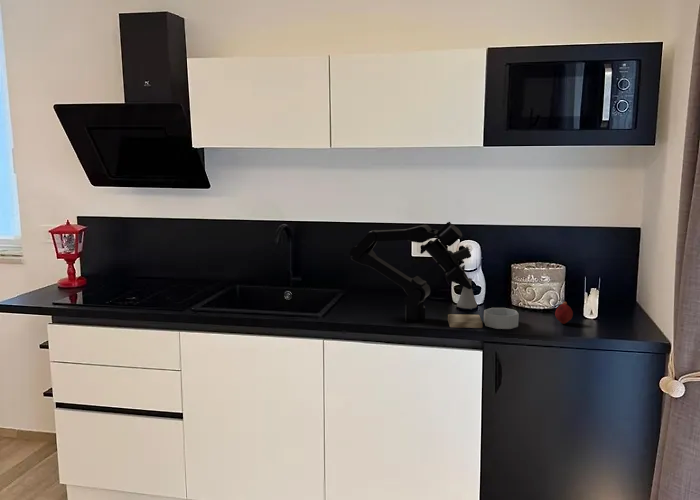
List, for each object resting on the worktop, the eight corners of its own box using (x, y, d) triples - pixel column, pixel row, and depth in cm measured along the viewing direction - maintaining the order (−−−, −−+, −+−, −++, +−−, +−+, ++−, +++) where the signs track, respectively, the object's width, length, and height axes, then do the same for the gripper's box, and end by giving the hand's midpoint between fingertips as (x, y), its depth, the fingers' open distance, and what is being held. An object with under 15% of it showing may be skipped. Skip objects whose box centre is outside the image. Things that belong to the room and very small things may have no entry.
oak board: (450, 327, 220) (450, 321, 219) (447, 319, 230) (447, 314, 229) (482, 327, 219) (482, 322, 219) (478, 320, 229) (478, 314, 228)
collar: (486, 328, 218) (487, 315, 217) (482, 319, 229) (482, 307, 229) (519, 329, 217) (520, 316, 217) (514, 320, 228) (514, 308, 228)
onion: (562, 327, 220) (563, 304, 219) (551, 322, 225) (552, 300, 224) (575, 325, 222) (577, 302, 221) (564, 321, 227) (565, 299, 226)
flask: (461, 303, 229) (462, 275, 227) (480, 306, 224) (481, 278, 223) (452, 307, 223) (453, 279, 221) (471, 310, 219) (472, 281, 217)
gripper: (457, 243, 211) (489, 277, 211) (459, 235, 229) (488, 267, 229) (432, 265, 214) (463, 299, 214) (436, 255, 232) (465, 287, 232)
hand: (471, 287), depth 222 cm, fingers closed on flask, 3 cm apart
